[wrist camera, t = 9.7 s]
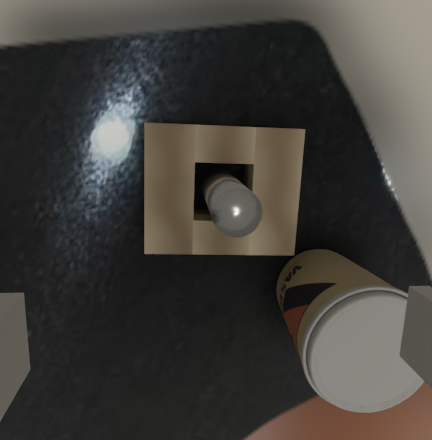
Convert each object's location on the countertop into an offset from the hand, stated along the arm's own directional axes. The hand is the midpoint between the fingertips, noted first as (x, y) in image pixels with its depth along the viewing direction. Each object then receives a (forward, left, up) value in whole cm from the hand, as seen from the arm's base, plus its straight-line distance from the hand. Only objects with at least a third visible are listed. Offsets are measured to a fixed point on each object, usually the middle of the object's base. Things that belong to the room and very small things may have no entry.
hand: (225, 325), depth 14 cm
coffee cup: (+12, -8, -23) cm, 27 cm away
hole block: (+2, +2, -23) cm, 23 cm away
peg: (+2, +2, -23) cm, 23 cm away
